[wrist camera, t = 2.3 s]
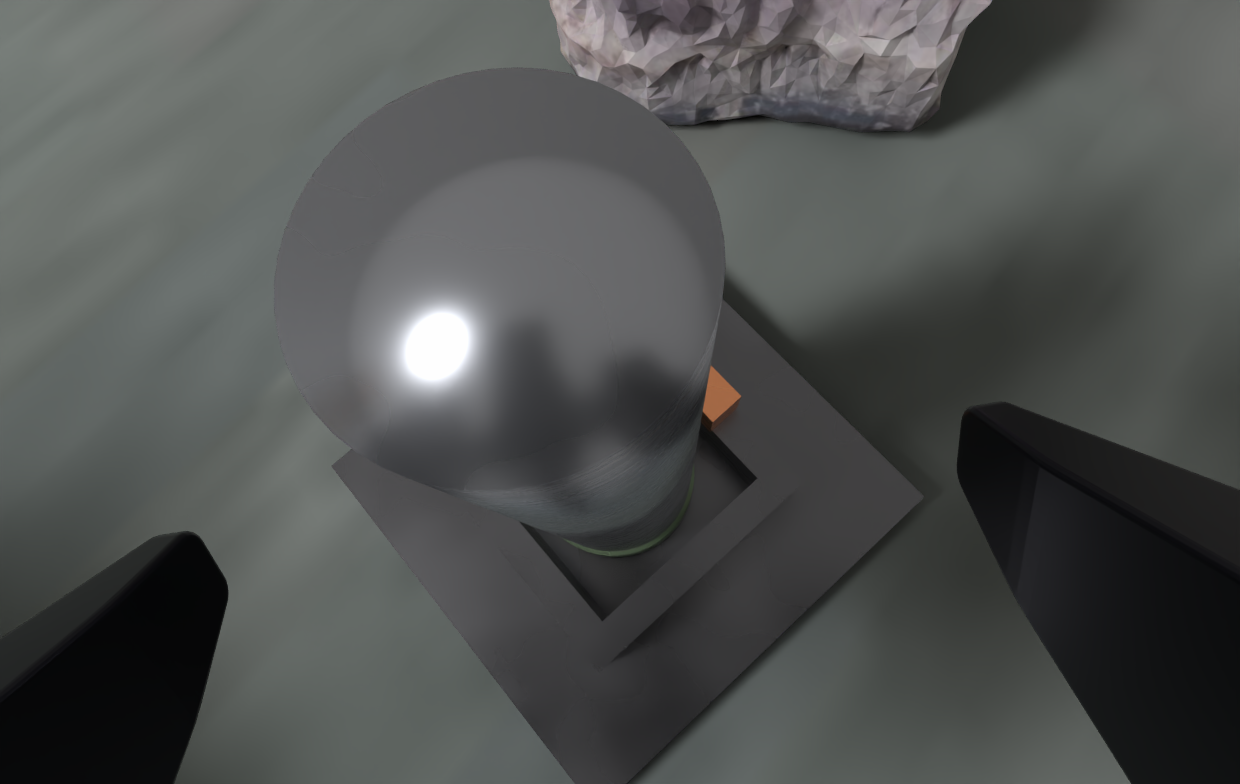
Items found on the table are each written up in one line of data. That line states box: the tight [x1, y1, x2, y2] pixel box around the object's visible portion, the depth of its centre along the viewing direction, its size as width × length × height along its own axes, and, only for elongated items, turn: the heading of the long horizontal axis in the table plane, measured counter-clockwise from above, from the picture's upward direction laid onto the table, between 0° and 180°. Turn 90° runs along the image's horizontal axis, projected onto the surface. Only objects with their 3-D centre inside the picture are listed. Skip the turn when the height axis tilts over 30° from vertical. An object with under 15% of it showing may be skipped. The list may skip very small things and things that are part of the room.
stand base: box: [332, 299, 924, 784], centre depth 16 cm, size 10×10×3 cm
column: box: [274, 68, 725, 557], centre depth 11 cm, size 4×4×12 cm
